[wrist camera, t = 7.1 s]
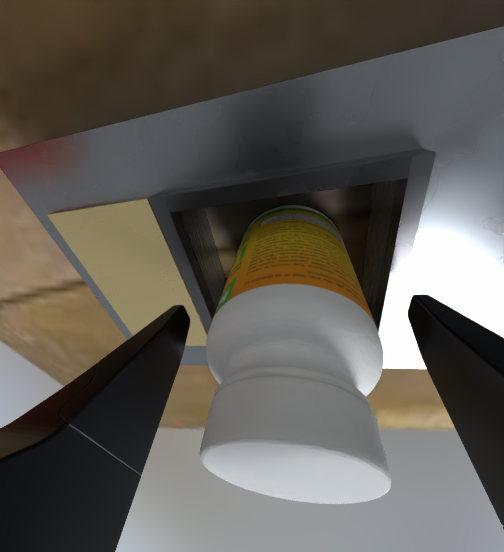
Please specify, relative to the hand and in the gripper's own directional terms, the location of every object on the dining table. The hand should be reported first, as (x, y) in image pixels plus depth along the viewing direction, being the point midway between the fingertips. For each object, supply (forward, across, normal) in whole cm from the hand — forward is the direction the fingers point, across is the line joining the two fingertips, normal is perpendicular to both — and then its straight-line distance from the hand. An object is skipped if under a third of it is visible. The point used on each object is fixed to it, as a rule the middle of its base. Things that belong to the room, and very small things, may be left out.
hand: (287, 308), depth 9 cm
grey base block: (+4, 0, 0) cm, 4 cm away
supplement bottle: (+5, 0, 0) cm, 5 cm away
